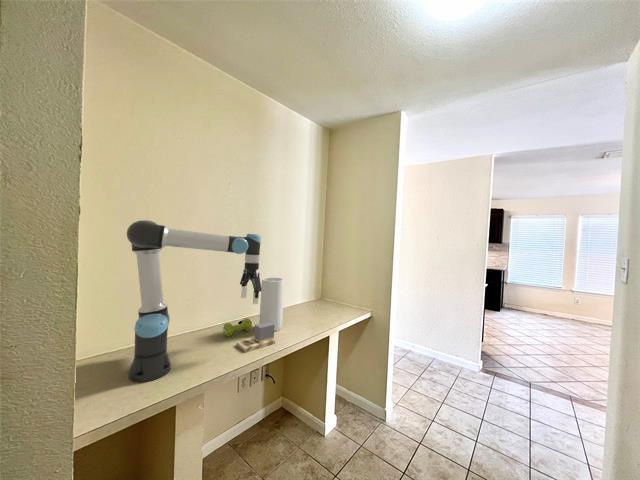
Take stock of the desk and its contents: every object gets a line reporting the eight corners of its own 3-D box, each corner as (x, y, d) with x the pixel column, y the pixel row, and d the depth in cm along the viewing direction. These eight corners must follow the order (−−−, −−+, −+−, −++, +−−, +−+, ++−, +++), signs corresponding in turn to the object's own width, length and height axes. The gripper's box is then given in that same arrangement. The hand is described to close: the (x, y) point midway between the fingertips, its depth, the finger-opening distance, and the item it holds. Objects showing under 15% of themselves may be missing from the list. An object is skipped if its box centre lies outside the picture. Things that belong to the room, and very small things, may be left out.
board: (245, 352, 134) (245, 348, 134) (236, 345, 142) (236, 341, 142) (275, 343, 146) (275, 340, 146) (265, 337, 154) (266, 334, 154)
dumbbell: (228, 338, 150) (228, 326, 149) (221, 334, 155) (221, 322, 155) (252, 331, 162) (253, 320, 162) (245, 327, 167) (246, 316, 167)
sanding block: (259, 342, 142) (260, 328, 142) (254, 338, 146) (254, 324, 146) (273, 338, 148) (274, 324, 148) (268, 335, 152) (268, 321, 152)
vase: (268, 334, 158) (271, 282, 157) (254, 327, 168) (256, 278, 167) (286, 328, 169) (288, 279, 168) (272, 322, 179) (274, 276, 177)
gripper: (270, 265, 136) (267, 305, 137) (247, 259, 155) (245, 295, 155) (256, 265, 131) (253, 307, 132) (235, 259, 150) (233, 296, 150)
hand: (249, 300), depth 144 cm, fingers open, 13 cm apart
